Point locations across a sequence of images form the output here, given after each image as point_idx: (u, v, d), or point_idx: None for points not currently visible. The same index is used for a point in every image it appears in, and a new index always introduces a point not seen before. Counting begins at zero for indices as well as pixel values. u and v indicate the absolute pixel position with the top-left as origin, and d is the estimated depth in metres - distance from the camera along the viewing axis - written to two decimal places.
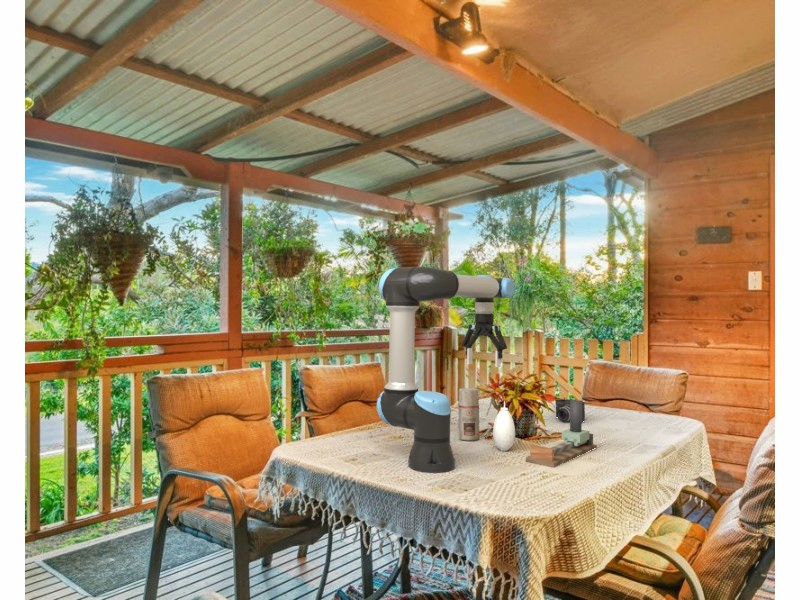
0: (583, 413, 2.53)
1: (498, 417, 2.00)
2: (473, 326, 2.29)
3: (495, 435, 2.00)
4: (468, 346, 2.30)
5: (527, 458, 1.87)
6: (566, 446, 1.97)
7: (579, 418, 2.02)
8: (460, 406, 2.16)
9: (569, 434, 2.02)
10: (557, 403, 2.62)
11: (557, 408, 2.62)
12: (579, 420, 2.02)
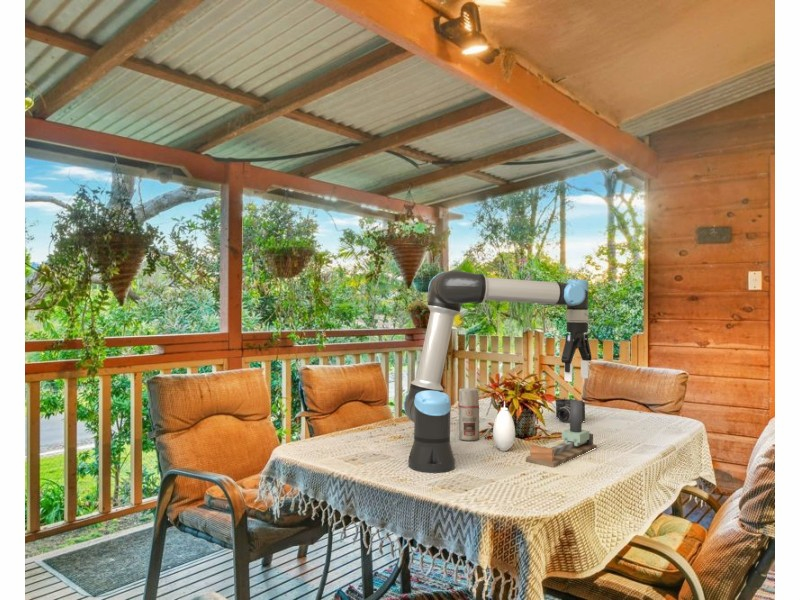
0: (583, 413, 2.53)
1: (498, 417, 2.00)
2: None
3: (495, 435, 2.00)
4: (582, 358, 2.10)
5: (527, 458, 1.87)
6: (566, 446, 1.97)
7: (579, 418, 2.02)
8: (460, 406, 2.16)
9: (569, 434, 2.02)
10: (557, 403, 2.62)
11: (557, 408, 2.62)
12: (579, 420, 2.02)
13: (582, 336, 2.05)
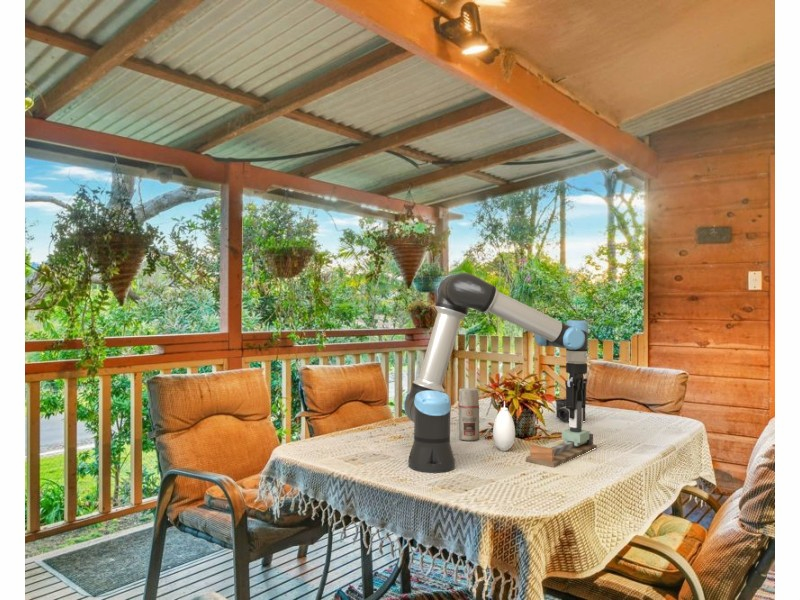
0: (584, 413, 2.53)
1: (498, 417, 2.00)
2: None
3: (495, 435, 2.00)
4: None
5: (527, 458, 1.87)
6: (566, 446, 1.97)
7: (579, 418, 2.02)
8: (460, 406, 2.16)
9: (569, 434, 2.02)
10: (558, 403, 2.62)
11: (558, 408, 2.62)
12: (579, 420, 2.02)
13: (582, 375, 2.05)
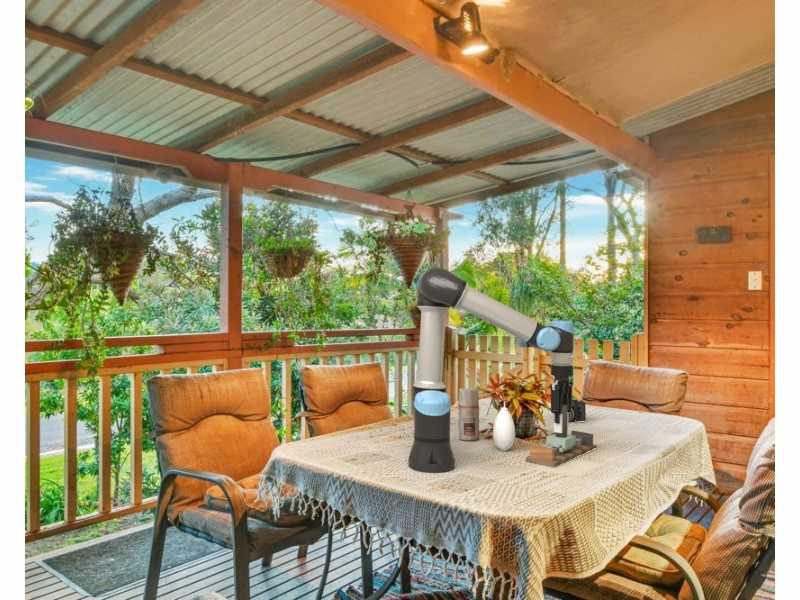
0: (584, 413, 2.54)
1: (498, 417, 2.00)
2: None
3: (495, 435, 2.00)
4: None
5: (527, 458, 1.87)
6: None
7: (564, 423, 1.94)
8: (460, 406, 2.16)
9: (554, 439, 1.93)
10: None
11: None
12: (564, 425, 1.94)
13: (567, 378, 1.97)
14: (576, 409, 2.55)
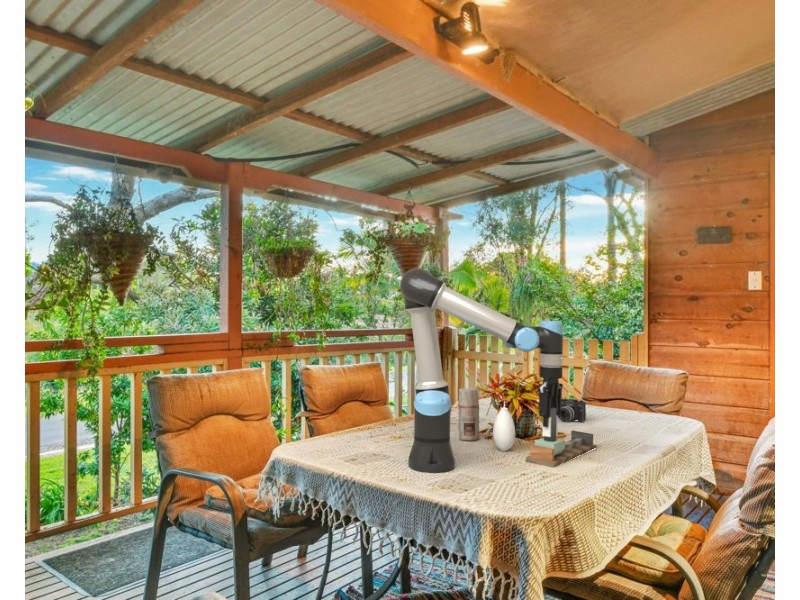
0: (584, 413, 2.54)
1: (498, 417, 2.00)
2: None
3: (495, 435, 2.00)
4: None
5: (527, 458, 1.87)
6: (566, 446, 1.97)
7: (553, 426, 1.88)
8: (460, 406, 2.16)
9: (542, 443, 1.87)
10: None
11: None
12: (553, 428, 1.88)
13: (557, 380, 1.91)
14: (576, 409, 2.55)
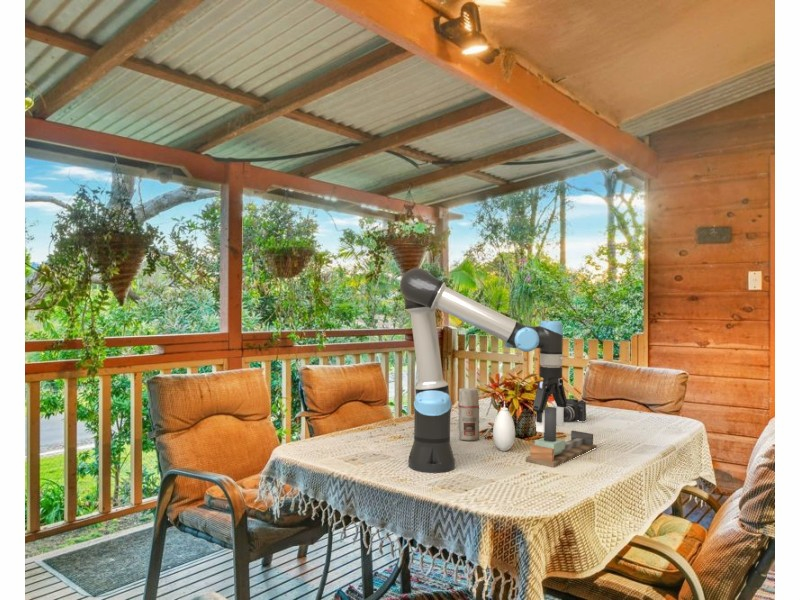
0: (584, 412, 2.54)
1: (498, 417, 2.00)
2: None
3: (495, 435, 2.00)
4: (557, 404, 1.95)
5: (527, 458, 1.87)
6: (566, 446, 1.97)
7: (553, 426, 1.88)
8: (460, 406, 2.16)
9: (542, 444, 1.87)
10: None
11: None
12: (553, 428, 1.88)
13: (556, 382, 1.90)
14: (576, 409, 2.55)
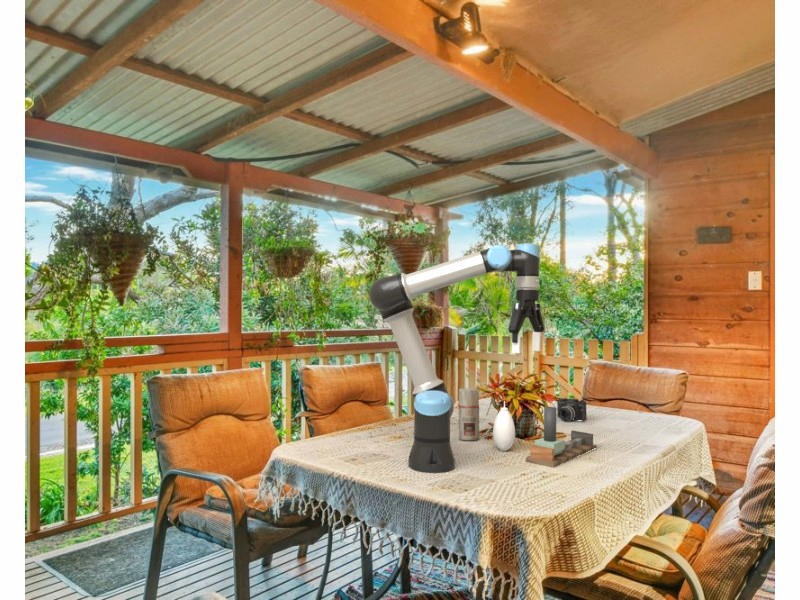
0: (585, 412, 2.55)
1: (498, 417, 2.00)
2: None
3: (495, 435, 2.00)
4: (534, 329, 1.95)
5: (527, 458, 1.87)
6: (566, 446, 1.97)
7: (553, 426, 1.88)
8: (460, 406, 2.16)
9: (542, 444, 1.87)
10: (559, 402, 2.64)
11: (559, 407, 2.64)
12: (553, 428, 1.88)
13: (533, 305, 1.90)
14: (577, 409, 2.56)
